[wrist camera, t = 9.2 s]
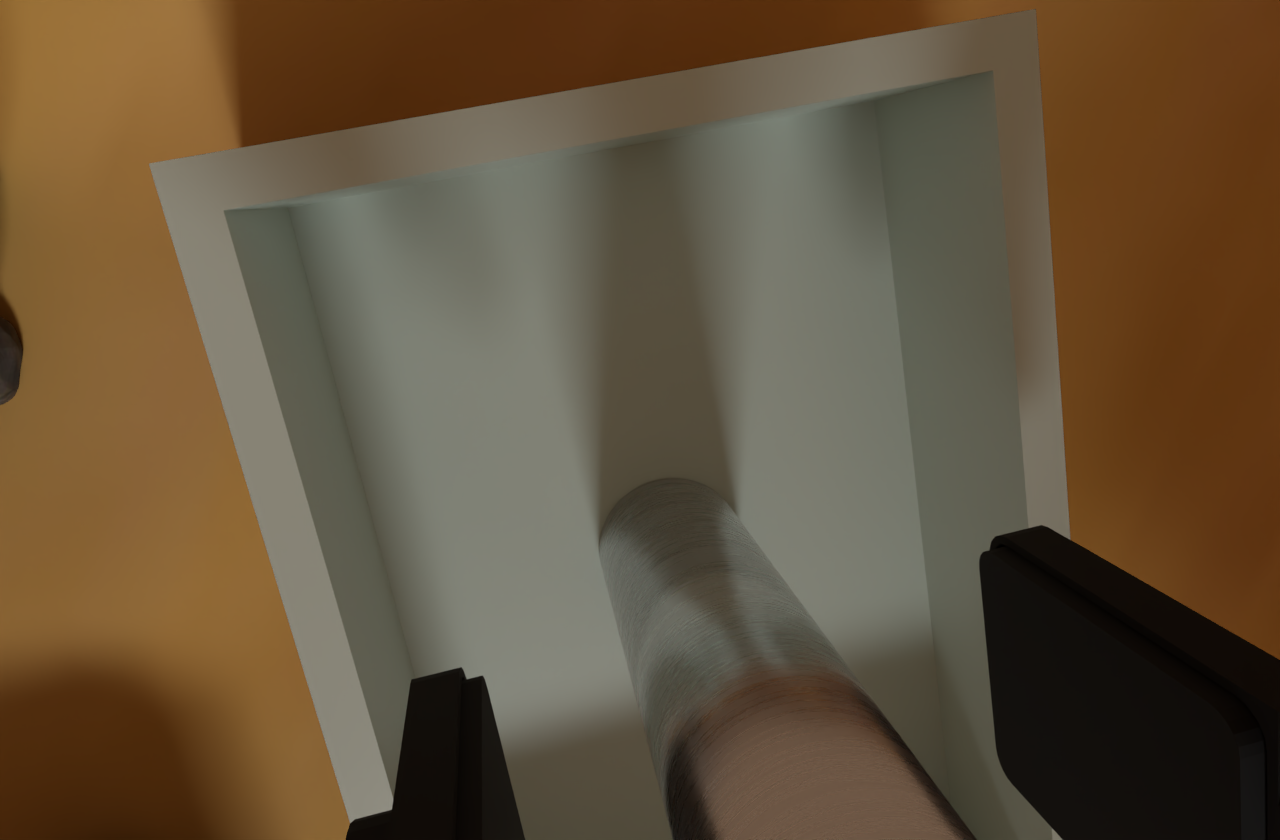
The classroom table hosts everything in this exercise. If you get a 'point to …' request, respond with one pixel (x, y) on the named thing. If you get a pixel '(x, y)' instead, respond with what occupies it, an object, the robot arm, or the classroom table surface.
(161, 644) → the classroom table surface
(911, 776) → the pin
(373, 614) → the tray
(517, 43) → the classroom table surface
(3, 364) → the rhino figurine
